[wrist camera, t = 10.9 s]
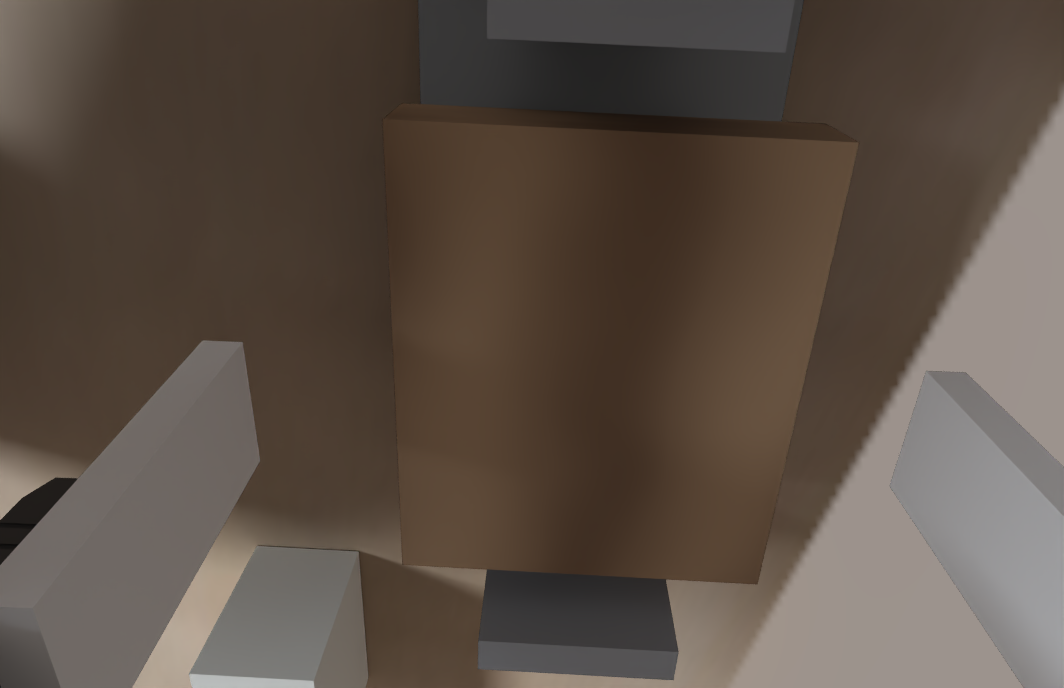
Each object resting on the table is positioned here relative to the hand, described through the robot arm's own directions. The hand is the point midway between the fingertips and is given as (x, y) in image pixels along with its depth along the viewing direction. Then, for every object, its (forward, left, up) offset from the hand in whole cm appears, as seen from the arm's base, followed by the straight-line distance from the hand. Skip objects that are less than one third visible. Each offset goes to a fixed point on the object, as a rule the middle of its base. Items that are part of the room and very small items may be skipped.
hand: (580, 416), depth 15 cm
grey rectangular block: (-10, -16, -10) cm, 21 cm away
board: (0, 0, -4) cm, 4 cm away
